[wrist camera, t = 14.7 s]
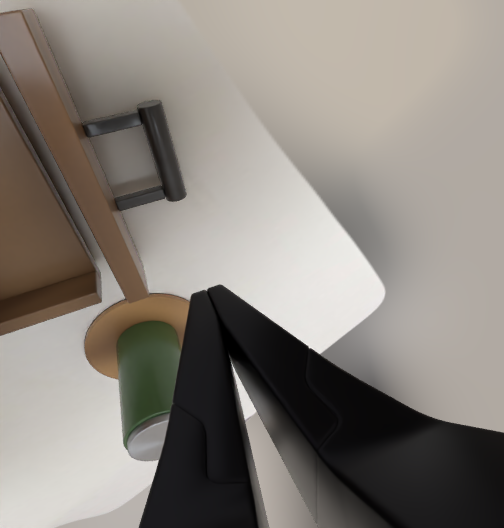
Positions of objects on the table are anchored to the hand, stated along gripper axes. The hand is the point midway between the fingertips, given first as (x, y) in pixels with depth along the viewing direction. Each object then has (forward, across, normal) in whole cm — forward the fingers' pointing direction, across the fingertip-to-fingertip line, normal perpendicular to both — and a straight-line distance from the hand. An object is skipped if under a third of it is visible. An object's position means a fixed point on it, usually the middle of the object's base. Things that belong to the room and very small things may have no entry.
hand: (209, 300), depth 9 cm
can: (+12, +4, +14) cm, 19 cm away
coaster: (+13, +4, +14) cm, 19 cm away
